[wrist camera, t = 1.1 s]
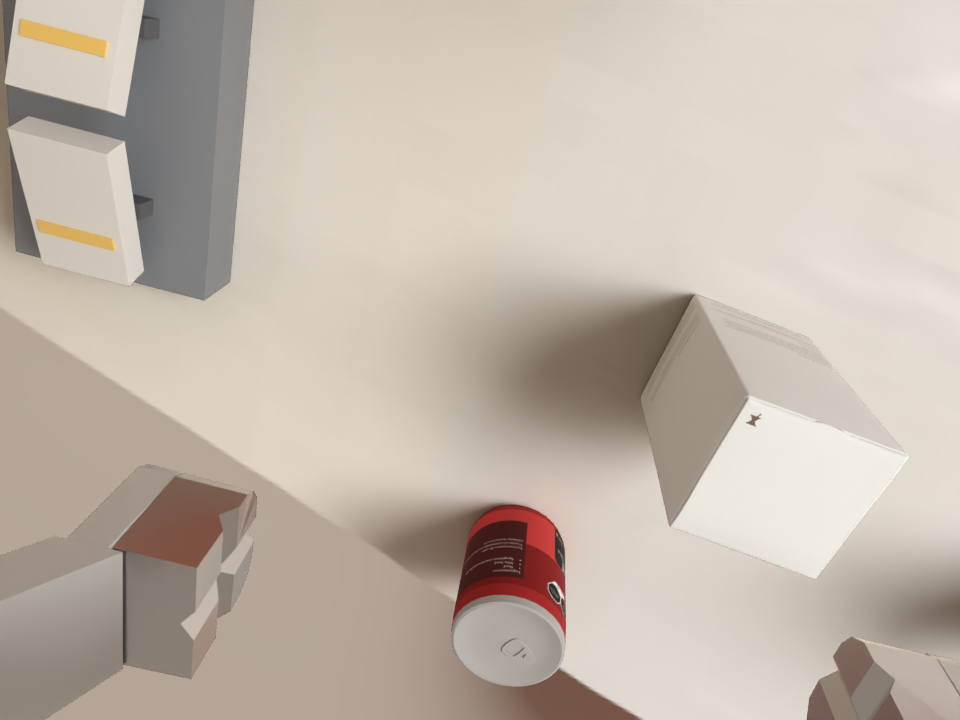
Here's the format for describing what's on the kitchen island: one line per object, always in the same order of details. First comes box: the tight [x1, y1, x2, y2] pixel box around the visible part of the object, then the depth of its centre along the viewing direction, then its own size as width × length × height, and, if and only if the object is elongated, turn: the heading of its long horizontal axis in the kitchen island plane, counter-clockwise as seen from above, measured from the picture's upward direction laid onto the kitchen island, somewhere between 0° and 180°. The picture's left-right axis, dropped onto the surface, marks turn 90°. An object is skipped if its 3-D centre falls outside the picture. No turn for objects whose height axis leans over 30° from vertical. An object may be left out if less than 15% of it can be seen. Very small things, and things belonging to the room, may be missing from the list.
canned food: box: [451, 505, 566, 686], centre depth 53 cm, size 8×8×11 cm
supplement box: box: [640, 295, 909, 579], centre depth 43 cm, size 9×9×15 cm
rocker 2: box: [7, 116, 144, 286], centre depth 42 cm, size 9×6×2 cm, turn 167°
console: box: [2, 0, 254, 301], centre depth 41 cm, size 32×13×6 cm, turn 167°
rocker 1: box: [5, 0, 145, 117], centre depth 37 cm, size 9×6×2 cm, turn 166°
